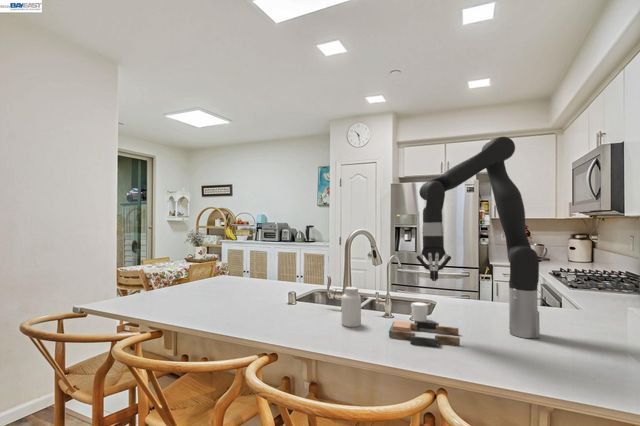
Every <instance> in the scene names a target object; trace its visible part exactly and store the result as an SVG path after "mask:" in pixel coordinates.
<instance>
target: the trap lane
mask: <svg viewBox="0 0 640 426" xmlns="http://www.w3.org/2000/svg"><path fill="white" fill-rule="evenodd" d="M394 322H395V321H392V324H391V326H390V327H389V330H388V338H390V339H399V340H407V341H410V345H415V346H416V345H417V346H423V347H432V348H439V344H442V345H449V346H459V347H460V346H461V342H460V341H461V339H460V337H459V327H454V326H452V327H451V326H442V325H441V326H440V323H439V322H432V321H431V322H430V321H425V322H423V321H414V323H413V322H411V332H404V331H395V330H393V324H394ZM412 331H413V332H412ZM415 332H420V333H430V334H431V333H432V334H435V335H434V338H431V337H424V336H416V334H415ZM439 334H440V335H439ZM449 335H450V336H449Z"/></svg>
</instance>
